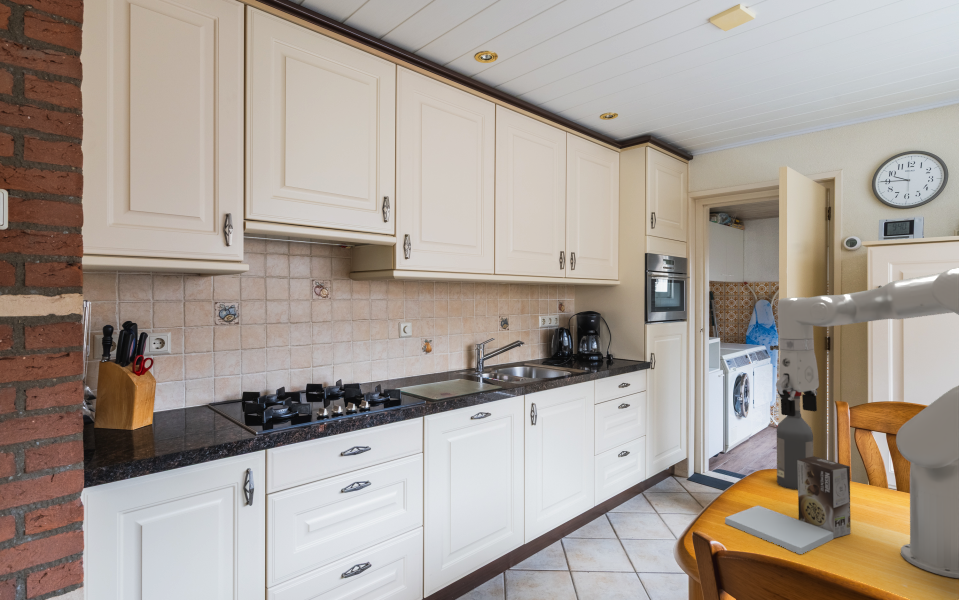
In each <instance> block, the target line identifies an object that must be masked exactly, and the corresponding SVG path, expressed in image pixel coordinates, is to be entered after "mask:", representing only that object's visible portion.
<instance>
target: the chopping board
mask: <svg viewBox="0 0 959 600" xmlns="http://www.w3.org/2000/svg"><path fill="white" fill-rule="evenodd" d="M724 524H725V525H728V526H730V527H733V528H734V529H738V530H740V531H742V532H744V531H745V533H747V534H749V535H752V536H754V537H757V538H759V539H761V538H762V539H761V540H764V541H766V540H767V542H769V543H771V542H773V543H774V545H776V544H777V545H776V546H778V545H780V546H779V547H781V546H782V547H781V548H783V547H784V548H783V549H785V548H786V550H788V551H791V552H793V553H795V552H796V553H795V554H798V555H800V554H802V555H804V554H806V553H808V552H810V551H811V550H813V549H815V548H817V547H820V546H822V545H824V544H826V543H828V542H830V541H832V540H834V539H835V538H834V532H831V531H828V530H825V529H822V528H820V527H817V526H814V525H811V524H809V523H806V522H803V521H800V520H799V519H797V518H794V517H793V516H792V517H791V516H789V515H786V514H783V513H781V512H777V511H775V510H772V509H769V508H766V507H764V506H761V505H755V506H753V507H750V508H748V509H744V510H742V511H739V512H737V513H734V514H731V515H729V516H726V517H725V518H724ZM773 543H772V544H773ZM807 551H808V552H807ZM805 552H806V553H805ZM803 553H804V554H803Z"/></svg>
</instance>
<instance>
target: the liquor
mask: <svg viewBox="0 0 959 600" xmlns="http://www.w3.org/2000/svg"><path fill="white" fill-rule="evenodd" d="M788 393H789V394H790V392H788ZM802 394H803V392H797V391H796V393H795V395H794V398H793V400H795V414H796V415H795V416H787V415H785V417H784V418H783V419H782V420H781V421H780V422H779V423H778V424H777V425H776V426H777V427H776V482H777V485H778V486H780V487H783V488H785V489H788V490H789V489H790V490H795V489H797V490H796V491H798V465H797V460H799V459H804V458H807V457H812V456H814V435H813V430H812V428H811V426H810V425H809V424H808V423H807V422H806V420H804V419H803V416H802V413H801V396H802Z"/></svg>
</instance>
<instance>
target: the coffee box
mask: <svg viewBox="0 0 959 600" xmlns="http://www.w3.org/2000/svg"><path fill="white" fill-rule="evenodd" d="M797 465H798V490H797V496H798V497H797V498H798V499H797V500H798V501H797V503H798V504H797V507H798V509H797V510H798V511H797V512H798V520H800V521H803V522H806V523H809V524H811V525H814V526H817V527H820V528H822V529H825V530H828V531H831V532H834V539H835V538H839V537H843V536H847V535H850V534H851V531H852V530H851V529H852V527H851V466H850V465H846V464H843V463H840V462H836V461H833V460H830V459H829V460H828V459H825V458H822V457H818V456H814V455H813V456H812V457H807V458H804V459H799V460H797Z"/></svg>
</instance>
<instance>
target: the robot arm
mask: <svg viewBox="0 0 959 600" xmlns="http://www.w3.org/2000/svg"><path fill="white" fill-rule="evenodd" d="M951 313H953V314H954V313H955V314H956V315H958V316H959V267H953V268H950V269H947V270H945V271H943V272H939V273H934V274H929V275H922V276H918V277H910V278H904V279H899V280H898V279H897V280H895V281H892V282H888V283H887V284H885V285H883V286H880V287H878V288H877V287H876V288H873V289H872V288H871V289H869V290H868V289H867V290H863V291H857V292H850V293H845V294H833V295H832V294H830V295H829V294H828V295H817V296H811V297H810V296H809V297H806V296H805V297H803V296H800V297H797V296H795V297H783V298H780V299H779V300H778V302H777V320H778V321H777V323H778V324H777V325H778V343H779V344H778V347H779V349H778V350H779V352H780V354H779V363H778V364H779V366H778V370H779V371H778V377H779V379H778V381H777V382H776V384H775V386H776V389H777V393H778V396H779V397H778V398H779V399H780V410H781V411H780V412H781V415H782V416H795V415H796V414H795V400H793V398H794V395H795V393H796V391H797V392H801V393H802V397H801V399H802V400H801V402H802V410H804V411H809V412H814V413H815V412H817V411H818V404H817V395H818V391H817V390H818V388H819V387H820V382H819V371H818V363H817V362H818V361H817V358H816V353H815V345H814V344H815V342H814V326H815V327H833V326H844V325H852V324H858V323H859V324H860V323H868V322H875V321H883V320H904V319H905V320H906V319H913V318H920V317H929V316H934V315H935V316H936V315H942V314H951ZM788 392H790V394H789V393H788ZM895 437H896V438H895V442H896V447H897V449H898V451H899V453H900V455H901V456H902V457H903V458H904V459H905V460H907V461H908V462H910V467H909V468H910V469H909V543H906V544H904V545H902V546H901V547H900V555H901V557H902V558H903V559H904V560H906V561H907V562H908V563H910V564H912V565H913V566H914V567H916V568H919V569H922V570H924V571H926V572H930V573H933V574H936V575H939V576H943V577H949V578H953V579H954V578H955V579H959V385H957V386H955V387H952V388H950V389H949V390H947V391H946V392H945V393H944V394H942V395H941V396H939V397H938V398H937V399H935V400H934V401H933V402H931V404H929V405H928V406H926V407H924V409H922V410H921V411H919V412H918V413H917V414H915V415H914V416H913V417H912V418H910V419H908V420H907V421H906V422H905V423H903V424H902V425H901V427H899V429H898V431H897V432H896V436H895Z"/></svg>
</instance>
